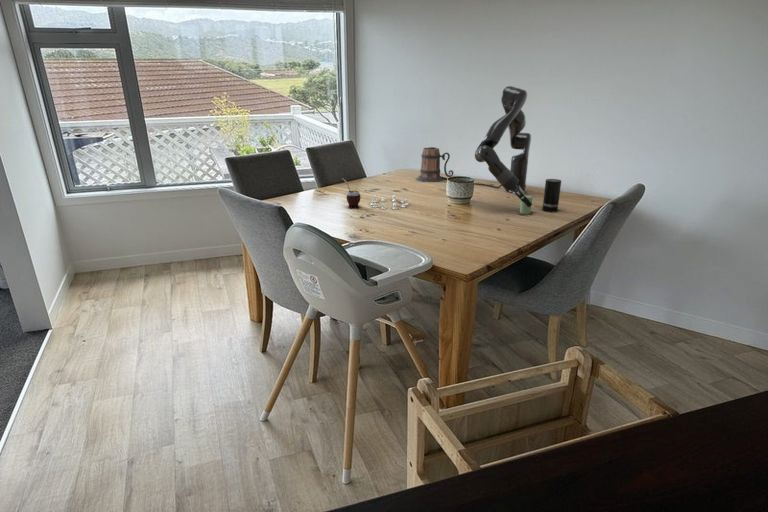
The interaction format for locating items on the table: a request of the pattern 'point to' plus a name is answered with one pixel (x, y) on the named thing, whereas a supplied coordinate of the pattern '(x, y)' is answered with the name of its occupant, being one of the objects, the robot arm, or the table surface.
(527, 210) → the cap
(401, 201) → the game piece set
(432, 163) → the tankard
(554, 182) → the thermos
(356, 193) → the mate gourd
